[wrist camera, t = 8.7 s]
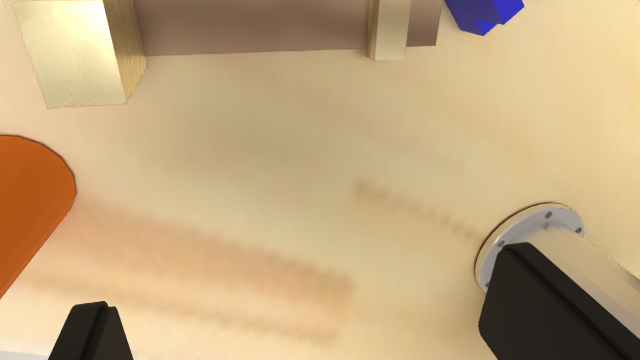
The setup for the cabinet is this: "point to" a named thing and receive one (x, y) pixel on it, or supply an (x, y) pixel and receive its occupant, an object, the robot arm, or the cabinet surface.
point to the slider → (83, 49)
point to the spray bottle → (29, 202)
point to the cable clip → (482, 13)
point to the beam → (287, 26)
